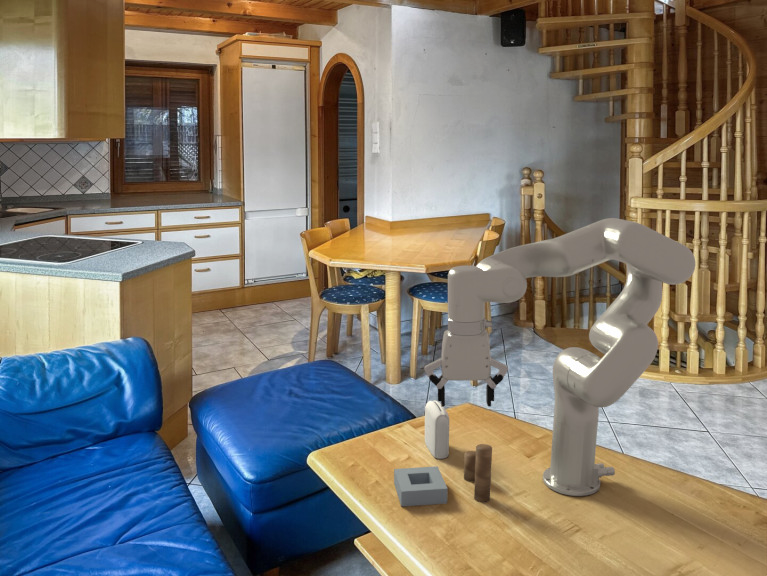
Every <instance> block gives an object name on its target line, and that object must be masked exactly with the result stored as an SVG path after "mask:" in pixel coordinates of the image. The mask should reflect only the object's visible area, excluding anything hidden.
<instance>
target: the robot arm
mask: <svg viewBox="0 0 767 576" xmlns="http://www.w3.org/2000/svg"><path fill="white" fill-rule="evenodd" d="M611 260H613V261H614V260H615V261H617V262H620V263H624V264H625V265H626V281H625V284H624V287H623V288H622V291H620V293H619V295H618V296H617V297H616V298H615V300H614V301H612V302H611V304H610V305H609V306H608V307H607V308H606V309H605V310H604V311H603V313H602V314H601V315H600V316H599V317H598V319H597V320H596V321H595V322H594V323H593V325H592V326H591V328H590V329H589V334H588V339H589V342H590V344H591V345H592V346H593V347H594V348H595V349H596V350H597V351H599V352H601V353H602V354H604V355H603V356H602V357H600V356H598V355H597V354H595V353H593V352H591V351H589V350H588V349H585V348H582V347H579V346H578V347H577V346H575V347H574V346H572V347H571V346H570V347H567V348H565V349H563V350H562V351H560V352H559V353H558V354H557V355H556V357H555V358H554V361H553V365H552V380H553V381H552V383H553V391H554V393H553V394H554V406H553V407H554V408H553V409H554V410H553V424H552V438H551V452H550V453H551V455H550V467H548V468H546V469H545V470H544V471H543V474H542V480H543V483H544V485H546V486H547V488H549V489H550V490H552V491H554V492H556V493H559V494H562V495H566V496H573V497H586V496H590V495H593V494H595V493H597V492H598V491H599V490H600V487H601V480H600V478H601V479H602V477H604V476H605V477H609V476H612V477H613V476H615V473H616V470H615V468H614V467H613V466H606V467H605V464H604V463H603V462H602V463H601V462H600V463H595V462H596V449H597V440H598V439H597V438H598V437H597V436H598V424H599V414H600V413H599V408H607V407H610V406H612V405H613V404H615V403H616V402H618V400H620V399H621V398H622V397H623V396H624V395H625V394H626V392H628V390H629V389H630V388H631V387H633V385H634V384H635V383H636V381H637V380H638V379H639V378H640V377H641V376H642V375H643V373H645V371H646V370H647V369H648V367H650V366H651V364H652V362H653V361H654V359H655V357H656V355H657V352H658V349H659V340H658V336H657V334H656V333H655V331H654V330H653V329H652V328H651V327H650V326H649V325H648V324H649V323H650V322H651V320H652V319H653V318H654V316H655V315H656V314H657V312H658V310H659V309H660V308H661V303H662V298H663V284H667V285H675V286H676V285H680V284H683V283H685V282H686V281H688V280H689V279H690V278H691V276H692V275H693V274H694V272H695V269H696V258H695V256H694V253H693V252H692V250H691V249H690V248H688V247H687V245H684V244H683V243H680V241H679V242H678V241H677V240H674V239H672V238H670V237H668V236H666V235H664V234H662V233H660V232H658V231H656V230H654V229H652V228H651V227H648V226H646V225H644V224H641V223H639V222H637V221H631V220H626V219H621V218H616V217H610V218H609V217H608V218H604V219H600V220H598V221H595V222H593V223H590V224H587V225H585V226H582V227H580V228H578V229H575V230H572V231H570V232H567V233H565V234H562V235H560V236H557V237H554V238H549V239H545V240H544V239H543V240H539V241H536V242H532V243H526V244H523V245H522V244H520V245H517V246H515V247H514V246H513V247H510V248H507V249H505V250H502V251H499V252H497V253H495V254H491V255H489V256H487V257H485V258H483V259H481V261H479V262H478V263H477V264H476V266H475V265H458V266H454V267H451V268H450V270H448V274H447V329H446V330H444V332H443V335H442V336H443V337H442V344H441V356H440V357H439V358H438V359H436V360H434V361H432V362H430V363H428V364H426V365H425V366H424V367H423V368H424V370H423V371H424V372H425V374H426V375H427V377H428V379H429V381H430V382H431V383H432V384H434V386H436V388H437V401H438V402H440V403H441V407H444V408H445V406H446V387H445V385H446V384H447V383H448V381H453V382H454V381H455V382H456V381H459V382H460V381H466V382H467V381H469V382H470V381H471V382H472V381H473V382H474V381H484V382H485V383H486V390H485V391H486V392H485V393H486V396H485V397H486V399H485V400H486V401H485V402H486V405H487V406H488V407H490V408H492V402H495V389H496V388H497V386H498V385H500V383H501V382H502V381H503V380H504V377H505V376H506V374H507V372H508V371H509V368H508V365H506V364H505V363H503V362H501V361H498V360H496V359H494V358H492V357H491V345H490V337H489V333H488V330H487V329H488V328H492V326H493V321H492V320H489V319H486V303H499V304H509V303H514V302H517V301H519V300H520V299H522V298H523V296H524V295H525V294H526V291H527V287H528V282H527V279H528V278H534V277H547V278H548V277H549V278H550V277H551V278H561V277H562V278H564V277H571V276H573V275H576V274H579V273H581V272H583V271H585V270H587V269H590V268H593V267H595V266H598V265H601V264H603V263H606V262H607V261H608V262H609V261H611ZM440 367H441V368H440ZM492 367H493V368H495V369H497V370H498V372H497V373H496V374H495V375H494V376H493V377H492V375H491V374H492ZM438 368H440V369H441V375H439V376H437V375H436V374H435V373H434V372H433V371H434V370H436V369H438Z"/></svg>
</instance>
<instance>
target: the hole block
mask: <svg viewBox="0 0 767 576" xmlns="http://www.w3.org/2000/svg"><path fill="white" fill-rule="evenodd" d="M393 469H394V470H393V471H394V472H393V485H394V488H395V490H396V495H397V496H398V500H399V501H398V502H399V503H400V507H414V506H427V505H429V506H430V505H443V504H448V487H447V484H446V482H445V480H444V478H443V475H442V473H441V471H440V469H439V466H436V465H435V466H422V467H408V468H407V467H405V468H393Z"/></svg>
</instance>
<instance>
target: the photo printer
mask: <svg viewBox="0 0 767 576" xmlns="http://www.w3.org/2000/svg"><path fill="white" fill-rule="evenodd" d="M424 444H425V447H426V448H427V449H428V451H429V452H430V454H431V455H432V456H433V458H436V459H446V458H447V457H449V453H450V449H449V448H450V416H449V413H448V411H447V409H446V407H445V406H444V407H441V401H438V400H429V401H427V402H426V404H425V407H424Z"/></svg>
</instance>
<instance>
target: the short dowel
mask: <svg viewBox="0 0 767 576" xmlns="http://www.w3.org/2000/svg"><path fill="white" fill-rule="evenodd" d="M463 463H464V465H463V479H464V481H466V482H471V483H475V464H476V450H475V451H474V450H466V451H465V452H464V462H463Z"/></svg>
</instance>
